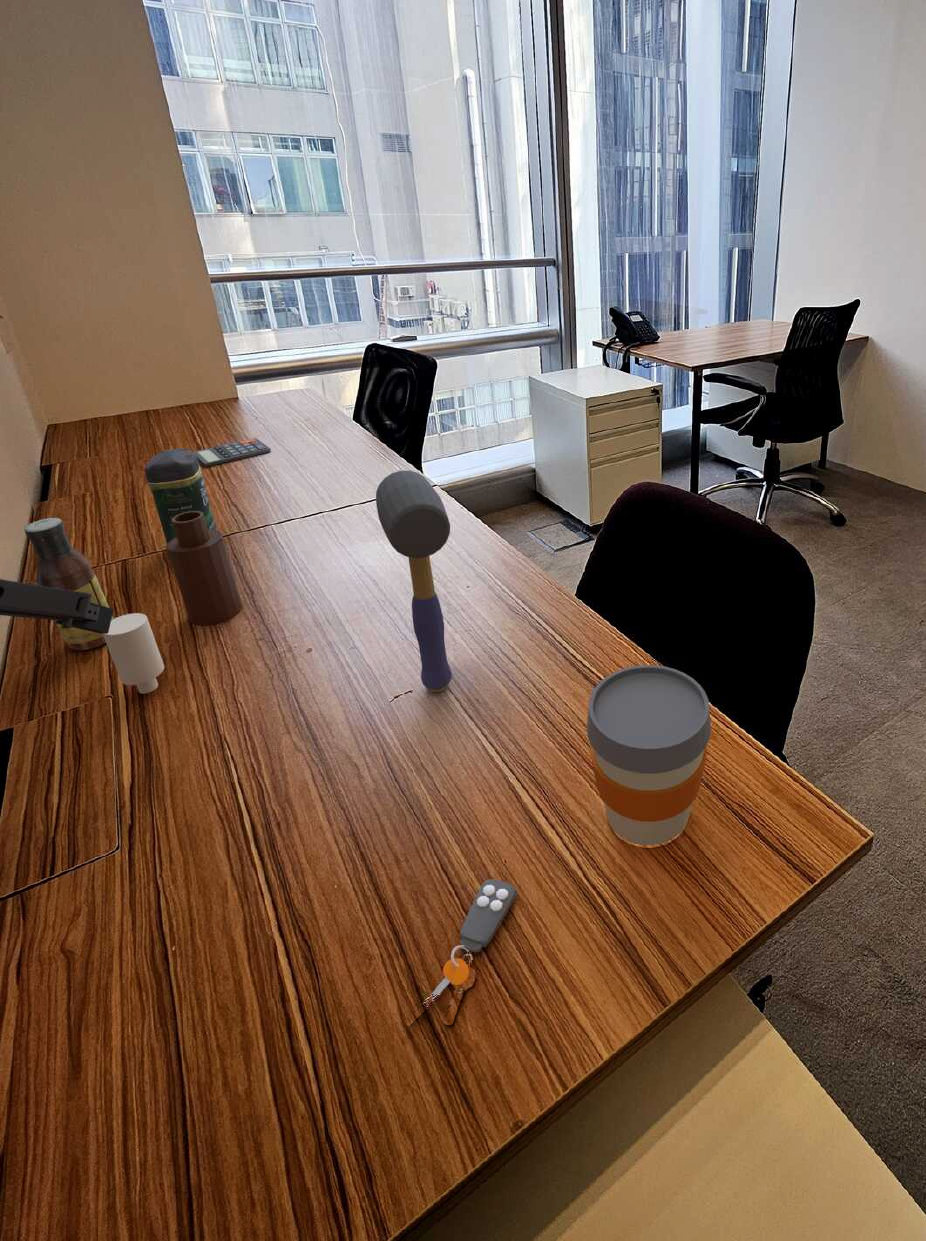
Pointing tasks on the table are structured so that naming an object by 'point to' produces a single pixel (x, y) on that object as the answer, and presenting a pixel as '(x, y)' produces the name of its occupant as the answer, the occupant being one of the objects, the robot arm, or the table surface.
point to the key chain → (478, 928)
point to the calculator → (231, 452)
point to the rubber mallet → (419, 561)
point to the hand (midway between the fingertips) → (43, 623)
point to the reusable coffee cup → (648, 749)
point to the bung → (134, 651)
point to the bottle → (203, 570)
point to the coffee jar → (177, 488)
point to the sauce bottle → (65, 574)
